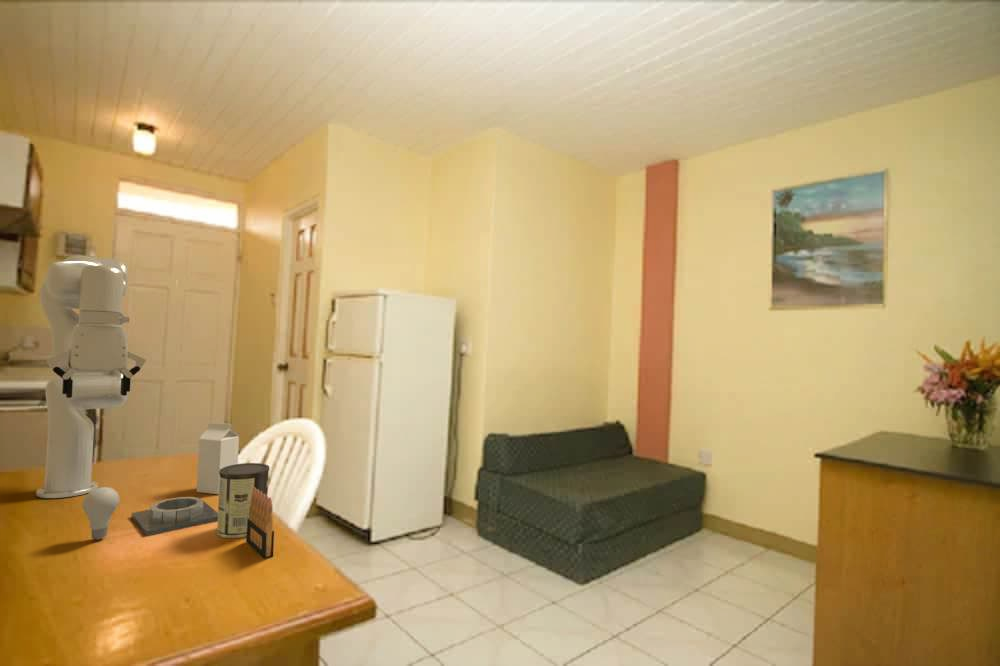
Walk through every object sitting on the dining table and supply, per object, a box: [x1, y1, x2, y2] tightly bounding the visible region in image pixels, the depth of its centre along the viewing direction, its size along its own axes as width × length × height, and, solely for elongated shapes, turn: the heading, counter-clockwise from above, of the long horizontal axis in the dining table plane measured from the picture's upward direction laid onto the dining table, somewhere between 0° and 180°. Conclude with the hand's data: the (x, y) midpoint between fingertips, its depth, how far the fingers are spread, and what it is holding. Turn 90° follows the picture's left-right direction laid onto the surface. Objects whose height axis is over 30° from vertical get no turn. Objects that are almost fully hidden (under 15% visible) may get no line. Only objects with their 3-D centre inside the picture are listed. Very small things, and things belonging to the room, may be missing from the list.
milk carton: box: [196, 422, 240, 495], centre depth 140 cm, size 7×7×19 cm
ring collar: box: [131, 496, 218, 537], centre depth 118 cm, size 15×15×4 cm
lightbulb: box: [81, 486, 120, 541], centre depth 105 cm, size 6×6×11 cm
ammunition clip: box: [245, 487, 275, 559], centre depth 104 cm, size 11×2×12 cm, turn 45°
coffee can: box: [216, 462, 270, 539], centre depth 113 cm, size 10×10×14 cm
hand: (97, 396), depth 111 cm, fingers open, 9 cm apart
